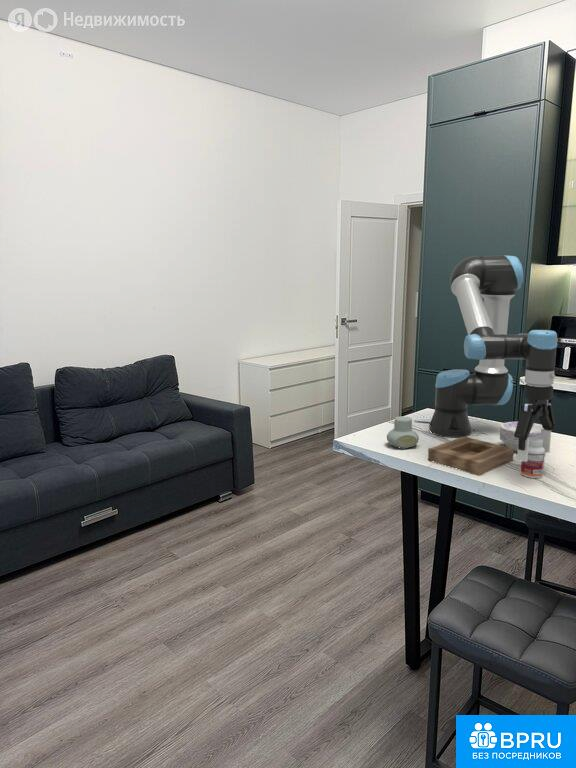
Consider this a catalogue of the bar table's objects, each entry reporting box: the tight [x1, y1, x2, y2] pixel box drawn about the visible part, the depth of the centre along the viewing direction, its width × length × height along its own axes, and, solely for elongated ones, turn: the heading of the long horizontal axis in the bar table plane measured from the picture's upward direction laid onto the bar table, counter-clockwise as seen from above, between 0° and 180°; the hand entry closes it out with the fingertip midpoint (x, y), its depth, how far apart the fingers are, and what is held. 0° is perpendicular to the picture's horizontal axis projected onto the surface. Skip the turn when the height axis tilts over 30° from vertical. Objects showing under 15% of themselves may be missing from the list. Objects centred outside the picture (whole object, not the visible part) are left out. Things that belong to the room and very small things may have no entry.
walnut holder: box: [427, 436, 515, 476], centre depth 175 cm, size 18×20×4 cm
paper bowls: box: [499, 421, 543, 452], centre depth 186 cm, size 15×15×8 cm
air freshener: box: [386, 415, 420, 449], centre depth 190 cm, size 11×8×10 cm
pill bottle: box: [520, 437, 546, 479], centre depth 161 cm, size 6×6×11 cm
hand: (533, 455), depth 161 cm, fingers open, 13 cm apart
